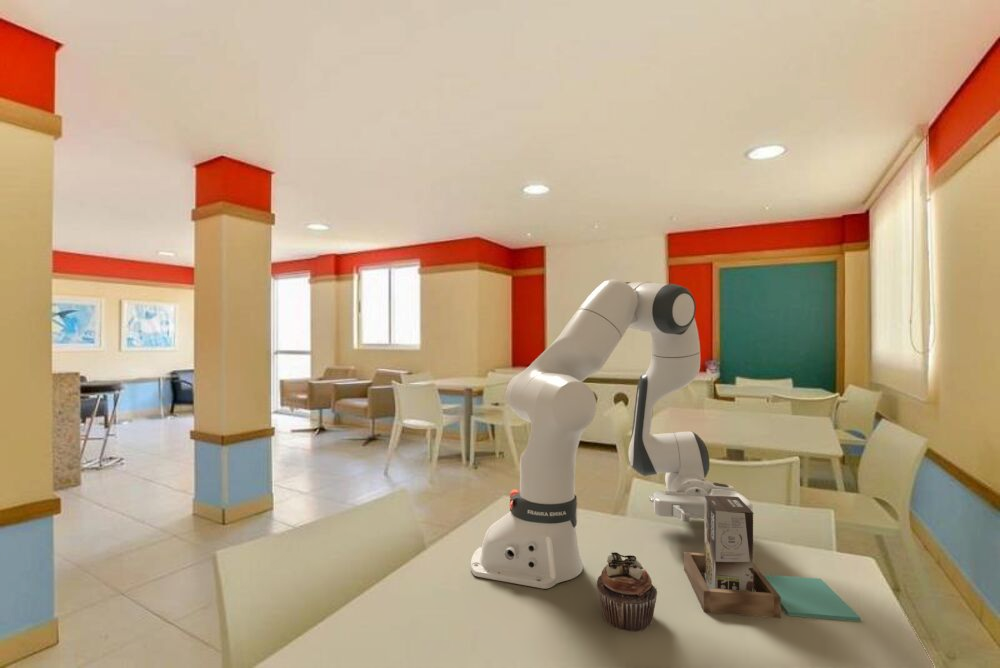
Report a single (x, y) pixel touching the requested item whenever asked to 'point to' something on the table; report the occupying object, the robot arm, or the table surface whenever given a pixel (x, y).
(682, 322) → the robot arm
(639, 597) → the cupcake
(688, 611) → the table surface
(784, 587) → the teal mat
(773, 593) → the walnut bin
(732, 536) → the coffee box
